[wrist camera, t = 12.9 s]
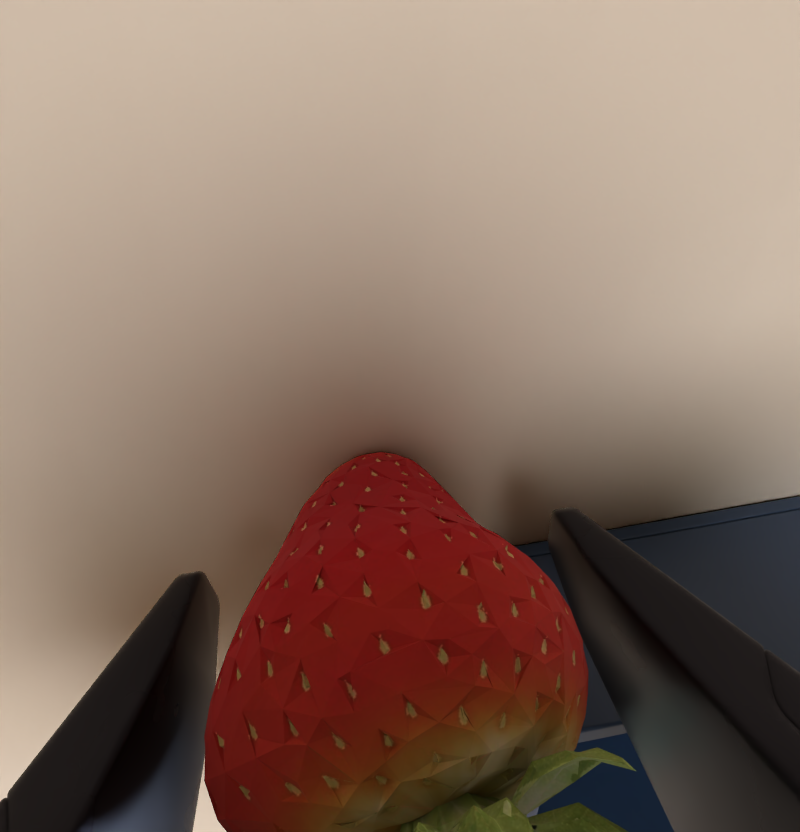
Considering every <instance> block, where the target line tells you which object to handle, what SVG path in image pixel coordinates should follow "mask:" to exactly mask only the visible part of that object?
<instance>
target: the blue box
mask: <svg viewBox="0 0 800 832" xmlns="http://www.w3.org/2000/svg"><path fill="white" fill-rule="evenodd" d="M606 531H608V532H609V533H611V534H612V535H613V536H615V537H616V538H617V539H619V540H620V541H621V542H623V543H624V544H625V545H627V546H628V547H630V548H631V549H632V550H634V551H635V552H636V553H638V554H639V555H640V556H642V557H643V558H644V559H646V560H647V561H649V562H650V563H651V564H653V565H654V566H655V567H657V568H658V569H659V570H661V571H662V572H663V573H665V574H666V575H668V576H669V577H670V578H672V579H673V580H674V581H676V582H677V583H678V584H680V585H681V586H682V587H684V588H685V589H687V590H688V591H689V592H691V593H692V594H693V595H695V596H696V597H697V598H699V599H700V600H701V601H703V602H704V603H706V604H707V605H708V606H710V607H711V608H712V609H714V610H715V611H716V612H718V613H719V614H720V615H722V616H723V617H724V618H726V619H727V620H729V621H730V622H731V623H733V624H734V625H735V626H737V627H738V628H739V629H741V630H742V631H743V632H745V633H746V634H748V635H749V636H750V637H752V638H753V639H754V640H756V641H757V642H758V643H760V644H761V645H762V646H763V648H764V650H770V651H771V652H772V653H774V654H775V655H776V656H778V657H779V658H780V659H782V660H783V661H784V662H786V663H787V664H789V665H790V666H791V667H793V668H794V669H795V670H797V671H798V672H800V496H798V497H792V498H786V499H781V500H775V501H769V502H764V503H758V504H752V505H747V506H741V507H736V508H730V509H724V510H719V511H713V512H707V513H702V514H696V515H690V516H685V517H679V518H673V519H668V520H662V521H656V522H651V523H645V524H639V525H634V526H628V527H622V528H617V529H611V530H606ZM515 547H516V548H517V549H519V550H520V551H521V552H523V553H524V554H526V555H527V556H528V557H530V558H531V559H532V560H533V561H534V562H535V563H536V565H537V566H538V567H539V568H540V569H541V570H542V571H543V572H544V573H545V574H546V575H547V576H548V577H549V578H550V579H551V580H552V582H553V583H554V584H555V586H556V587H557V589H558V590H559V592H560V593H561V595H562V596H563V598H564V599H565V601H566V603H567V604H568V601H567V598H566V595H565V592H564V590H563V587H562V584H561V581H560V578H559V575H558V572H557V570H556V567H555V564H554V561H553V558H552V555H551V553H550V549H549V545H548V541H543V542H538V543H532V544H526V545H521V546H515ZM568 606H569V604H568ZM582 640H583V639H582ZM583 649H584V653H585V658H586V662H587V667H588V697H587V706H586V715H585V719H584V723H583V726H582V729H581V733H580V736H579V739H578V743H577V746H576V748H575V750H574V751H575V752H582V751H585V750H589V749H593V748H597V747H598V748H600V749H603V750H605V751H607V752H610V753H612V754H614V755H617V756H619V757H622V758H623V759H624V760H625V761H626V762H627V763H628V764H630V765H631V766H632V767H633V768H634V769H635V770H636V771H634V770H630V769H626V768H622V767H619V766H615V765H611V764H607V763H604V762H601V763H600V764H598V765H597V766H596V767H594V768H593V769H591V770H590V771H589V772H587V773H586V774H585V775H583V776H582V777H581V778H579V779H578V780H576V781H575V782H574V783H572V784H571V785H569V786H568V787H566V788H565V789H563V790H562V791H560V792H559V793H557V794H556V795H554V796H553V797H552V798H550V799H549V800H547V801H546V802H544V803H543V804H541V805H540V806H538V807H537V808H535V809H534V810H532V811H531V812H529V813H528V814H527V817H531V816H534V815H537V814H541V813H544V812H548V811H551V810H554V809H558V808H561V807H564V806H568V805H571V804H574V803H578V802H579V803H581V804H582V805H584V806H586V807H587V808H589V809H591V810H592V811H594V812H596V813H598V814H599V815H601V816H603V817H604V818H606V819H608V820H609V821H611V822H613V823H615V824H616V825H618V826H620V827H621V828H623V829H625V830H626V831H628V832H674V830H673V828H672V826H671V824H670V822H669V820H668V818H667V815H666V813H665V811H664V809H663V807H662V805H661V803H660V801H659V799H658V797H657V795H656V792H655V790H654V788H653V786H652V784H651V782H650V780H649V778H648V776H647V774H646V771H645V769H644V767H643V765H642V763H641V761H640V759H639V757H638V755H637V753H636V750H635V748H634V746H633V744H632V742H631V740H630V738H629V736H628V734H627V732H626V729H625V727H624V725H623V723H622V721H621V719H620V717H619V715H618V713H617V711H616V709H615V706H614V704H613V702H612V700H611V698H610V696H609V694H608V692H607V690H606V688H605V685H604V683H603V681H602V679H601V677H600V675H599V673H598V671H597V669H596V667H595V664H594V662H593V660H592V658H591V656H590V654H589V652H588V650H587V648H586V646H585V643H584V641H583Z"/></svg>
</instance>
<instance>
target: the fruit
mask: <svg viewBox="0 0 800 832" xmlns="http://www.w3.org/2000/svg"><path fill="white" fill-rule="evenodd" d="M587 697H588V667H587V662H586V658H585V653H584V649H583V640H582V637H581V635H580V632H579V630H578V627H577V624H576V622H575V619H574V617H573V614H572V612H571V609H570V607H569V606H568V604H567V603H566V601H565V599H564V598H563V596H562V595H561V593H560V592H559V590H558V589H557V587H556V586H555V584H554V583H553V582H552V580H551V579H550V578H549V577H548V576H547V575H546V574H545V573H544V572H543V571H542V570H541V569H540V568H539V567H538V566H537V565H536V563H535V562H534V561H533V560H532V559H531V558H530V557H528V556H527V555H526V554H524V553H523V552H521V551H520V550H519V549H517V548H516V547H514V546H513V545H512V544H510V543H509V542H507V541H506V540H505V539H503V538H502V537H500V536H499V535H498V534H496V533H494V532H492V531H490V530H488V529H486V528H484V527H482V526H481V525H479V524H477V523H476V522H475V521H474V520H473V519H472V517H471V516H470V515H469V514H468V513H467V512H466V511H465V510H464V509H463V508H462V507H461V506H460V505H459V504H458V503H457V502H456V501H455V500H454V499H453V498H452V496H451V495H450V494H449V493H448V492H447V491H446V490H445V489H444V488H443V487H442V486H441V485H440V484H439V483H438V482H437V481H436V480H435V479H434V478H433V477H432V476H431V475H430V474H429V473H428V472H427V471H426V470H425V469H423V468H422V467H421V466H420V465H418V464H417V463H416V462H415V461H413V460H411V459H408V458H405V457H402V456H399V455H396V454H391V453H385V452H378V453H370V454H365V455H361V456H358V457H356V458H354V459H352V460H350V461H348V462H346V463H344V464H342V465H340V466H339V467H338V468H337V469H336V470H334V471H333V472H332V473H331V474H330V475H328V476H327V477H326V479H325V480H324V481H323V483H322V484H321V486H320V487H319V488H318V489H317V490H316V491H315V493H314V494H313V495H312V496H311V497H310V498H309V499H308V501H307V502H306V503H305V504H304V506H303V507H302V509H301V511H300V513H299V515H298V517H297V519H296V521H295V522H294V524H293V526H292V528H291V530H290V532H289V534H288V536H287V538H286V539H285V541H284V543H283V545H282V547H281V549H280V551H279V553H278V555H277V557H276V559H275V560H274V562H273V564H272V565H271V567H270V568H269V570H268V572H267V573H266V575H265V577H264V578H263V580H262V581H261V583H260V585H259V587H258V589H257V590H256V592H255V594H254V596H253V598H252V599H251V601H250V603H249V605H248V607H247V609H246V610H245V612H244V614H243V616H242V618H241V621H240V623H239V625H238V628H237V630H236V633H235V635H234V637H233V640H232V642H231V645H230V647H229V649H228V652H227V654H226V657H225V660H224V662H223V665H222V668H221V671H220V674H219V676H218V679H217V682H216V685H215V689H214V692H213V695H212V698H211V701H210V706H209V712H208V718H207V724H206V729H205V735H204V740H205V779H204V781H205V784H206V787H207V790H208V793H209V796H210V799H211V802H212V805H213V808H214V811H215V814H216V817H217V820H218V821H219V823H220V824H221V825H222V826H223V828H224V829H225V830H226V831H227V832H628V831H626V830H625V829H623V828H621V827H620V826H618V825H616V824H615V823H613V822H611V821H609V820H608V819H606V818H604V817H603V816H601V815H599V814H598V813H596V812H594V811H592V810H591V809H589V808H587V807H586V806H584V805H582V804H581V803H579V802H578V803H574V804H571V805H568V806H564V807H561V808H558V809H554V810H551V811H548V812H544V813H541V814H537V815H534V816H531V817H527V814H528V813H529V812H531V811H532V810H534V809H535V808H537V807H538V806H540V805H541V804H543V803H544V802H546V801H547V800H549V799H550V798H552V797H553V796H554V795H556V794H557V793H559V792H560V791H562V790H563V789H565V788H566V787H568V786H569V785H571V784H572V783H574V782H575V781H576V780H578V779H579V778H581V777H582V776H583V775H585V774H586V773H587V772H589V771H590V770H591V769H593V768H594V767H596V766H597V765H598V764H600V763H601V762H604V763H607V764H611V765H615V766H619V767H622V768H626V769H630V770H634V771H636V770H635V769H634V768H633V767H632V766H631V765H630V764H628V763H627V762H626V761H625V760H624V759H623V758H622V757H619V756H617V755H614V754H612V753H610V752H607V751H605V750H603V749H600V748H598V747H597V748H593V749H589V750H585V751H582V752H575V751H574V750H575V748H576V746H577V743H578V739H579V736H580V733H581V729H582V726H583V723H584V719H585V715H586V706H587Z"/></svg>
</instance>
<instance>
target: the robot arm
mask: <svg viewBox="0 0 800 832" xmlns="http://www.w3.org/2000/svg"><path fill="white" fill-rule="evenodd" d="M548 545H549V549H550V553H551V555H552V558H553V561H554V564H555V567H556V570H557V572H558V575H559V578H560V581H561V584H562V587H563V590H564V592H565V595H566V598H567V601H568V604H569V607H570V609H571V612H572V614H573V617H574V619H575V622H576V624H577V627H578V630H579V632H580V635H581V637H582V639H583V641H584V643H585V646H586V648H587V650H588V652H589V654H590V656H591V658H592V660H593V662H594V664H595V667H596V669H597V671H598V673H599V675H600V677H601V679H602V681H603V683H604V685H605V688H606V690H607V692H608V694H609V696H610V698H611V700H612V702H613V704H614V706H615V709H616V711H617V713H618V715H619V717H620V719H621V721H622V723H623V725H624V727H625V729H626V732H627V734H628V736H629V738H630V740H631V742H632V744H633V746H634V748H635V750H636V753H637V755H638V757H639V759H640V761H641V763H642V765H643V767H644V769H645V771H646V774H647V776H648V778H649V780H650V782H651V784H652V786H653V788H654V790H655V792H656V795H657V797H658V799H659V801H660V803H661V805H662V807H663V809H664V811H665V813H666V815H667V818H668V820H669V822H670V824H671V826H672V828H673V830H674V832H800V672H798V671H797V670H795V669H794V668H793V667H791V666H790V665H789V664H787V663H786V662H784V661H783V660H782V659H780V658H779V657H778V656H776V655H775V654H774V653H772V652H771V651H770V650H764V648H763V646H762V645H761V644H760V643H758V642H757V641H756V640H754V639H753V638H752V637H750V636H749V635H748V634H746V633H745V632H743V631H742V630H741V629H739V628H738V627H737V626H735V625H734V624H733V623H731V622H730V621H729V620H727V619H726V618H724V617H723V616H722V615H720V614H719V613H718V612H716V611H715V610H714V609H712V608H711V607H710V606H708V605H707V604H706V603H704V602H703V601H701V600H700V599H699V598H697V597H696V596H695V595H693V594H692V593H691V592H689V591H688V590H687V589H685V588H684V587H682V586H681V585H680V584H678V583H677V582H676V581H674V580H673V579H672V578H670V577H669V576H668V575H666V574H665V573H663V572H662V571H661V570H659V569H658V568H657V567H655V566H654V565H653V564H651V563H650V562H649V561H647V560H646V559H644V558H643V557H642V556H640V555H639V554H638V553H636V552H635V551H634V550H632V549H631V548H630V547H628V546H627V545H625V544H624V543H623V542H621V541H620V540H619V539H617V538H616V537H615V536H613V535H612V534H611V533H609V532H608V531H606V530H605V529H604V528H602V527H601V526H600V525H598V524H597V523H596V522H594V521H593V520H592V519H590V518H589V517H587V516H586V515H585V514H583V513H582V512H581V511H579V510H578V509H576V508H573V507H568V508H563V509H557V510H554V511H553V512H552V514H551V519H550V526H549V533H548ZM218 628H219V600H218V597H217V594H216V593H215V591H214V589H213V587H212V585H211V584H210V582H209V580H208V578H207V576H206V575H205V574H204V573H203V572H201V571H198V572H192V573H186V574H182V575H180V576H178V577H177V578H176V579H175V580H174V581H173V583H172V584H171V585H170V586H169V588H168V589H167V590H166V591H165V593H164V594H163V595H162V597H161V598H160V599H159V600H158V602H157V603H156V604H155V605H154V607H153V608H152V609H151V611H150V612H149V613H148V614H147V616H146V617H145V618H144V620H143V621H142V622H141V623H140V625H139V626H138V627H137V628H136V630H135V631H134V632H133V634H132V635H131V636H130V637H129V639H128V640H127V641H126V642H125V644H124V645H123V646H122V648H121V649H120V650H119V651H118V653H117V654H116V655H115V657H114V658H113V659H112V660H111V662H110V663H109V664H108V665H107V667H106V668H105V669H104V671H103V672H102V673H101V674H100V676H99V677H98V678H97V679H96V681H95V682H94V683H93V685H92V686H91V687H90V688H89V690H88V691H87V692H86V694H85V695H84V696H83V697H82V699H81V700H80V701H79V702H78V704H77V705H76V706H75V708H74V709H73V710H72V711H71V713H70V714H69V715H68V716H67V718H66V719H65V720H64V722H63V723H62V724H61V725H60V727H59V728H58V729H57V731H56V732H55V733H54V734H53V736H52V737H51V738H50V739H49V741H48V742H47V743H46V745H45V746H44V747H43V748H42V750H41V751H40V752H39V753H38V755H37V756H36V757H35V759H34V760H33V761H32V762H31V764H30V765H29V766H28V768H27V769H26V770H25V771H24V773H23V774H22V775H21V776H20V778H19V779H18V780H17V782H16V783H15V784H14V785H13V787H12V788H11V789H10V790H9V792H8V796H7V798H4V799H2V800H1V802H0V832H192V831H193V825H194V819H195V813H196V806H197V800H198V794H199V788H200V782H201V776H202V770H203V764H204V758H205V740H204V735H205V729H206V724H207V718H208V712H209V706H210V701H211V698H212V695H213V692H214V689H215V682H216V664H217V646H218Z"/></svg>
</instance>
